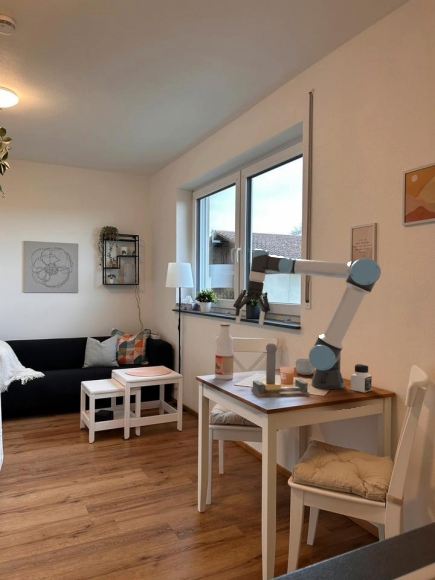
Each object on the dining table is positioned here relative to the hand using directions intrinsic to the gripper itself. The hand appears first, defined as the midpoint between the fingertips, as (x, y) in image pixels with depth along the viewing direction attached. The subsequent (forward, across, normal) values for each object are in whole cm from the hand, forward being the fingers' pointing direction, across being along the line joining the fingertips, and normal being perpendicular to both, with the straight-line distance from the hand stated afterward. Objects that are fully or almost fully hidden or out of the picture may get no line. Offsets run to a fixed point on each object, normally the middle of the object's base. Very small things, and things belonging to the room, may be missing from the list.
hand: (249, 323), depth 210 cm
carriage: (+24, -1, +24) cm, 34 cm away
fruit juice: (+31, +2, -12) cm, 34 cm away
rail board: (+26, -5, +25) cm, 37 cm away
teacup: (+26, -45, -5) cm, 53 cm away
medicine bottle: (+22, -44, +36) cm, 61 cm away
